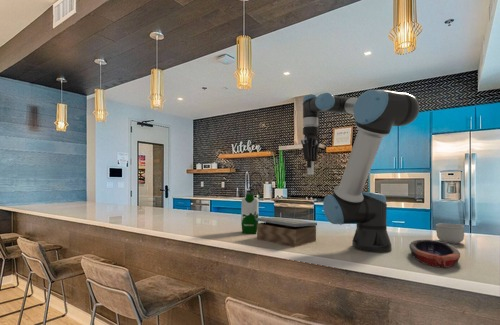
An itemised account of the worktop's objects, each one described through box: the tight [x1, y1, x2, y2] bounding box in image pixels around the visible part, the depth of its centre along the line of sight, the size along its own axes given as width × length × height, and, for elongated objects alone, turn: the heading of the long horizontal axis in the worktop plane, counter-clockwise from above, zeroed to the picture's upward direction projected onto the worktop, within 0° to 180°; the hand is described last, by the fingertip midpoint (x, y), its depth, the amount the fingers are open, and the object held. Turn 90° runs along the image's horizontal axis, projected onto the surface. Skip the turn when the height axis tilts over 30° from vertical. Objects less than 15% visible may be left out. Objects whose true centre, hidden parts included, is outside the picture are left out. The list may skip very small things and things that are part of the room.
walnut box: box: [256, 222, 317, 248], centre depth 139 cm, size 22×16×7 cm
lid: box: [256, 216, 318, 227], centre depth 139 cm, size 23×17×2 cm
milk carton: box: [240, 193, 260, 235], centre depth 156 cm, size 9×9×20 cm
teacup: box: [435, 222, 465, 245], centre depth 138 cm, size 14×11×8 cm
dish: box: [408, 239, 461, 269], centre depth 110 cm, size 16×31×5 cm, turn 153°
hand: (310, 174), depth 147 cm, fingers closed
